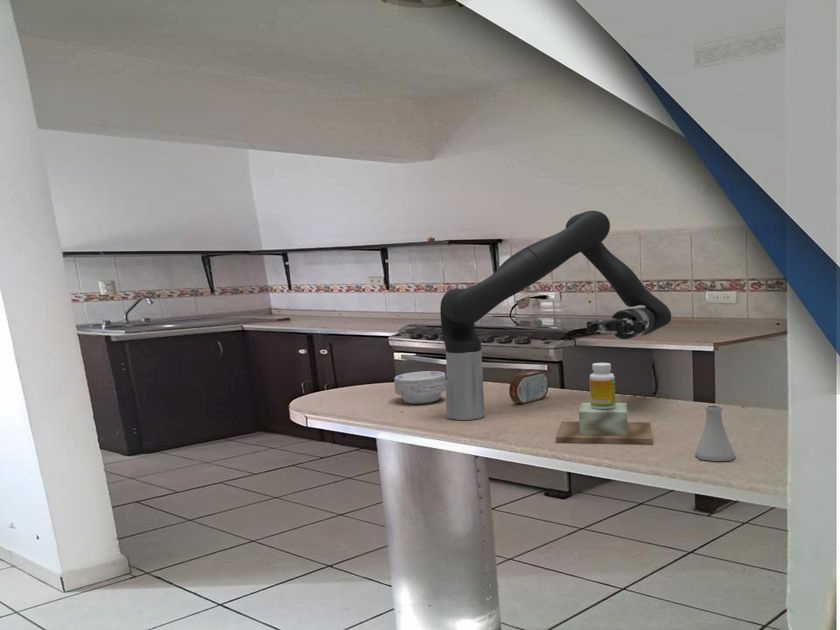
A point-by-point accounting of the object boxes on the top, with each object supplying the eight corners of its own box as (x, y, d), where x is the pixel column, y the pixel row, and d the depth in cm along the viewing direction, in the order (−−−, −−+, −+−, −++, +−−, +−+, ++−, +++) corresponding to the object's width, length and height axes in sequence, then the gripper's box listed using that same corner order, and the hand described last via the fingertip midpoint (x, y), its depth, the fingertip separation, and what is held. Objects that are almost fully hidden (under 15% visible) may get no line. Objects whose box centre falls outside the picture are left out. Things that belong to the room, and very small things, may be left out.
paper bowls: (387, 400, 210) (386, 374, 210) (433, 394, 217) (431, 368, 216) (408, 408, 196) (406, 380, 196) (456, 401, 203) (454, 374, 202)
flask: (736, 463, 130) (735, 410, 130) (694, 461, 133) (693, 409, 132) (734, 453, 137) (733, 402, 136) (694, 451, 140) (693, 402, 139)
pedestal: (555, 442, 152) (554, 414, 152) (561, 426, 166) (560, 400, 166) (653, 444, 146) (652, 415, 146) (650, 427, 161) (649, 400, 160)
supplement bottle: (616, 409, 153) (615, 365, 152) (591, 409, 154) (589, 366, 153) (614, 404, 158) (613, 361, 157) (590, 404, 159) (588, 362, 159)
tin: (542, 396, 204) (541, 367, 203) (551, 397, 202) (550, 368, 201) (508, 405, 194) (507, 375, 193) (517, 406, 191) (516, 376, 191)
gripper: (603, 308, 187) (578, 313, 174) (657, 309, 179) (634, 313, 166) (604, 336, 188) (578, 343, 175) (657, 338, 179) (635, 345, 166)
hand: (606, 329), depth 170 cm, fingers open, 8 cm apart
